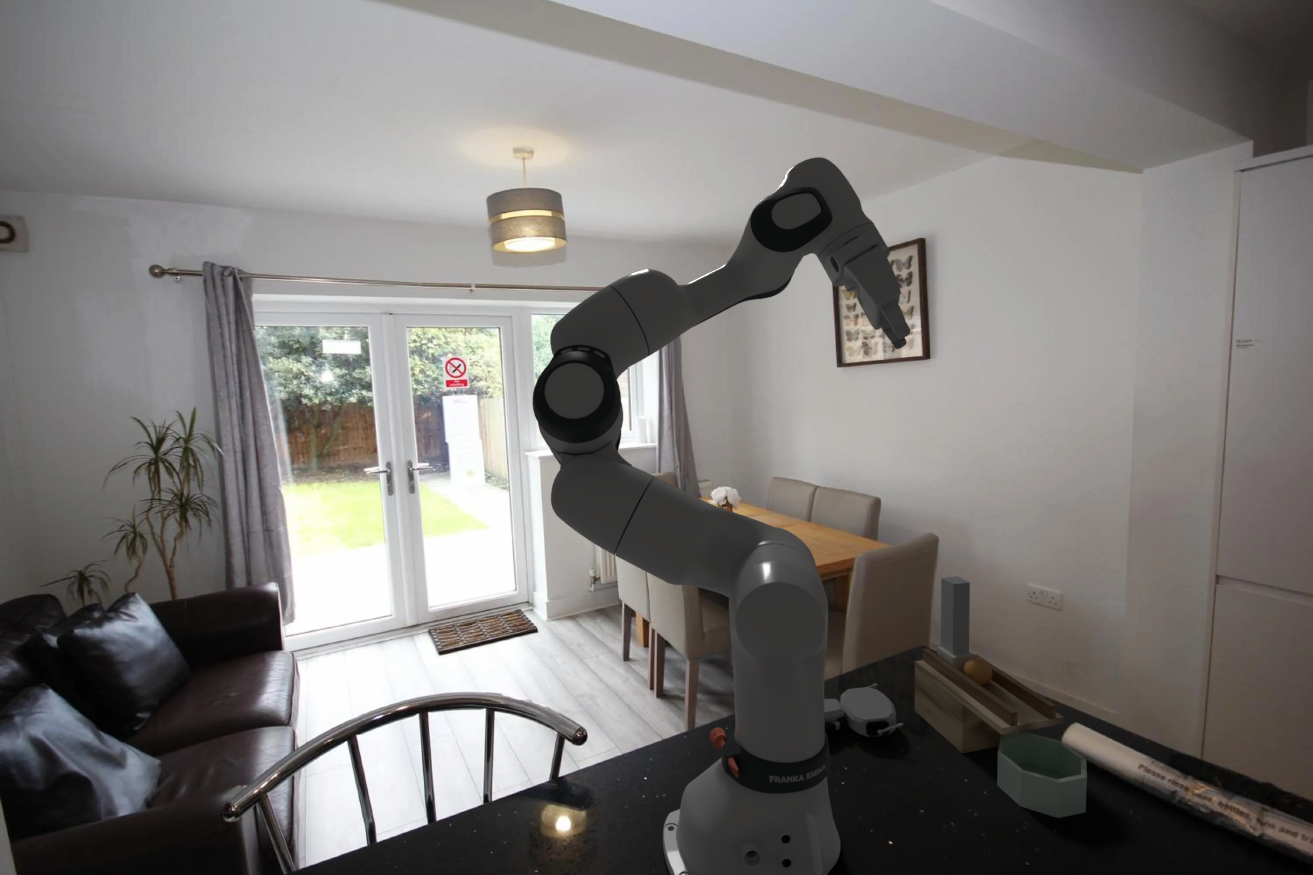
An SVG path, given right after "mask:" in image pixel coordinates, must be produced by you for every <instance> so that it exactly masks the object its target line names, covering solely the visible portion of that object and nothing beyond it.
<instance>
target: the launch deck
mask: <svg viewBox="0 0 1313 875" xmlns="http://www.w3.org/2000/svg"><path fill="white" fill-rule="evenodd" d="M921 650H922V654H921V657H922V658H921V660H915V661H914V712H915V713H917V714H918V716H920V717H921V718H922V719H924V720H925V722H927V723H928V724H929V725H930V726H931V727H933V728H934V729H935V731H937V732H938V733H939V734H940V735H942V736H943V738H944V739H945V740H947V741H948V742H949V743H950V744H951V745H953V747H954V748H956V749H957V750H958V751H959V752H960V753H961V754H966V753H971V752H977V751H982V750H988V749H993V748H999V743H1000V738H1001V737H1002V736H1007V735H1013V734H1018V733H1022V732H1026V731H1027V732H1028V731H1030V730H1037V729H1043V728H1048V727H1054V726H1059V725H1064V723H1065V717H1064V716H1063V715H1061V714H1060V713H1058V712H1057V711H1056V710H1057V709H1056V708H1057V705H1056V704H1054V703H1053V702H1051V701H1050V700H1048V699H1047V698H1045V697H1044V696H1042V695H1041V694H1039V693H1038V692H1036V691H1034V690H1033V689H1032V688H1029V687H1028V686H1026V685H1025V684H1024V683H1022V682H1020V680H1017V679H1015V678H1014V677H1012V676H1011V675H1010V674H1008V673H1006V672H1005V671H1003V670H1002V669H1000V668H998V667H997V666H995V665H994V664H992V663H991V662H989V661H987V660H986V659H984V657H982V656H980V655H978V654H977V658H980V659H983V660H985V661H986V662H987V663H988V664H989V665H990V667H991V668H992V672H993V675H992V679H991V680H990V682H989V683H987V684H985V685H979V684H977V683H976V682H974V681H973V680H972V679H970V678H969V677H967V676H966V675H965V673H962V672H960V671H959V670H958V669H956V668H955V667H953V666H952V665H950V664H949V663H948V662H946V661H945V660H943V659H942V658H941V657H939V656H938V655H937V653H935V652H933V651H932V650H931V649H929V648H922V649H921Z"/></svg>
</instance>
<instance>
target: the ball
mask: <svg viewBox="0 0 1313 875" xmlns="http://www.w3.org/2000/svg"><path fill="white" fill-rule="evenodd" d="M983 659H984V658H983ZM983 659H980V658H972V659H970V660H968V661H967V662H966V663H965V666H964V673H965V675H966V676H967V677H969V678H970V679H972V680H973V681H974V682H976V683H977V684H979V685H985V684H987V683H989V682H990V680H991V679H992V675H993V672H992V668H991V667H990V665H989V664H988V663H987V662H986V661H987V660H986V659H985V660H986V661H985V660H983Z"/></svg>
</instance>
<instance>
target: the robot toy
mask: <svg viewBox="0 0 1313 875" xmlns="http://www.w3.org/2000/svg"><path fill="white" fill-rule="evenodd" d="M876 687H878V683H873V684H872V685H867V686H866V687H865V686H864V687H855V688H848V689H847V690H845V691H843V693H842V694H841V695H840V700H838V699H837V698H824V711H825V733H826V734H827V737H828V738H829V737H830V736H833V735H834V733H835V732H836V731H838V730H843V729H845V728H847V727H849V728H850V729H851V730H853V731H854V732H855V733H857V734H859V735H861V736H864V737H874V738H875V737H877V738H878V737H881V736H887V735H889V736H890V734H891V733H893V732H895V730H896V729H897V728H901V727H903V726H904V723H902V722H900V723H897V712H896V708H895V706H894V705H895V704H894V703H893V702H892V701H891V700H890V698H889V697H888V696H886V694H884V693H883V692H881V691H880V690H878V688H877V689H876Z"/></svg>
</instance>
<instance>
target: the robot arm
mask: <svg viewBox="0 0 1313 875" xmlns="http://www.w3.org/2000/svg"><path fill="white" fill-rule="evenodd" d="M810 254H812V255H813V254H814V255H815V256H816V257H817V259H818V260H819V263H820V264H821V266H822V268H823V270H824V271H825V273H826V275H827V276H828V279H829V280H830V282H831V284H832V286H834V287H835V288H837V287H838V288H840V287H844V288H845V290H846V292H854V293H853V294H854V295H855V297H856V300H857V303H858V304H859V305H860V308H861V310H862V311H863V313H864V315H865V316H866V318H867V320H868V322H869V324H870V325H871V326H872V328H873V329H874V330H875V331H879V330H880V329H881V330H882V332H883V333H884V335H885V336H886V337H887V338H888V340H889V341H890V343H891V344H892V346H893V348H894V349H895V350H900V349H901V348H903V347H905V346H906V345H907V339H906V338H907V337H908V336H909V335H910V334H911V332H912V331H911V328H910V326H909V324H908V323H907V321H906V318H905V316H904V314H903V311H902V308H901V306H900V305H899V304H900V298H901V292H902V291H901V287H900V284H899V281H898V278H897V276H896V274H895V270H894V269H893V267H892V264H891V263H890V260H889V259H888V258H889V256H890V255H891V251H890V248H889V247H888V245H887V243H886V242H885V240H884V239H883V237H882V235H881V233H880V232H879V229H878V228H877V227H876V225H875V223H874V222H873V220H872V219H870V218H869V217H868V216H867V215H866V214H865V212H864V211H863V206H862V202H861V200H860V198H859V197H858V194H857V193H856V190H854V187H852V185H851V183H850V181H849V179H848V178H846V175H844V173H843V172H842V171H841V170H840V168H839V167H838V166H837V165H835V163H834V162H832V161H831V160H829V159H827V158H825V157H821V156H819V157H812V158H811V157H810V158H808V159H805V160H802V161H800V162H798V163H797V164H795V165H794V166H792V167H791V168H790V169H789V170H788V171H787V172H786V173H785V174H784V176H783V178H782V182H781V183H780V185H779V186H778V187H777V188H776V189H775V191H773V192H772V193H771V194H770V195H769V194H768V195H767V196H765V197H764V198H762V199H761V200H759V201H758V203H757V204H756V205H755V206H754V208H753V210H752V211H751V213H750V215H749V217H748V220H747V223H746V225H745V227H744V230H743V233H742V235H741V238H740V241H739V243H738V245H737V247H736V249H735V250H734V252H733V253H732V254H731V255H732V256H730V258H729V259H728V260H727V262H726V263H725V264H723V265H722V266H721V267H718V268H717V269H714V270H713V271H710V272H708V273H707V274H704V275H702V276H701V277H698V278H696V279H694V280H692V281H690V282H688V283H685V284H678V283H677V282H676V280H674V279H673V278H672V277H671V276H670V275H668V274H667V273H664V272H662V271H660V270H657V269H652V268H645V269H641V270H638V271H635V272H633V273H629V274H627V275H624V276H622V277H621V278H619V279H617V280H615V281H613V282H611V283H610V284H608V285H606V286H605V287H603V288H602V289H599V290H598V291H596V292H594V293H593V294H591V295H590V296H588V297H587V298H585V299H584V300H583V301H581V302H580V303H578V304H577V305H576V306H575V307H574V308H572V309H570V310H569V312H567V313H566V314H565V315H564V316H562V317H561V318H560V319H559V320H558V321H557V322H556V323H555V324H554V325H553V327H552V330H551V332H550V337H549V341H550V342H549V343H550V344H549V345H550V349H551V350H550V351H551V354H552V357H551V360H550V361H549V363H548V364H547V365H546V366H545V368H544V369H543V370H542V372H541V373H540V375H539V376H538V378H537V380H536V382H535V385H534V387H533V388H534V389H533V391H532V411H533V415H534V417H535V419H536V421H537V427H538V430H539V433H540V435H541V437H542V439H543V440H544V442H545V444H546V445H547V447H548V448H549V450H550V451H551V454H552V455H553V457H554V458H555V459H556V461H557V462H558V464H559V466H560V467H559V470H558V471H557V474H556V476H555V478H554V479H553V483H552V486H551V490H550V491H551V492H550V505H551V507H552V511H553V512H554V513H555V515H556V517H557V518H559V519H560V520H561V521H562V522H564V524H566V525H567V526H568V527H570V528H571V529H572V530H573V531H575V532H576V533H577V534H579V535H581V536H582V537H583V538H585V539H586V540H588V541H589V542H591V543H592V544H594V545H596V546H597V547H600V548H601V549H602V550H604V551H606V552H608V553H610V554H611V555H613V556H615V557H617V558H619V559H621V560H622V561H625V562H626V563H629V564H631V565H633V566H634V567H635V568H639V569H640V570H642V571H644V572H646V573H649V574H650V575H652V576H653V577H656V578H658V579H660V580H662V581H664V582H665V583H667V584H670V585H674V586H683V585H684V586H691V587H696V588H700V589H704V590H708V591H711V592H714V593H718V594H720V595H723V596H725V597H727V598H728V599H729V600H728V612H729V614H728V616H729V629H730V630H729V631H730V647H731V660H732V661H731V662H732V670H733V692H734V716H735V721H734V722H735V726H734V728H733V730H732V733H731V735H729V737H728V736H727V735H726V732H725V730H724V729H723V728H722V727H715V728H713V729H712V730H711V731H710V733H709V734H710V735H709V738H710V740H711V741H712V744H713V746H714V747H715V749H717V750H720V751H721V756H720V758H719V759H718V760H716V762H714V763H713V764H711V766H709V767H708V768H706V770H704V771H703V772H702V773H700V774H699V775H698V776H696V778H694V779H693V780H691V781H690V782H689V783H688V784H687V785H686V786H685V788H684V791H683V793H682V795H681V796H682V797H681V802H680V806H679V809H676V810H674V811H671V812H669V813H668V815H667V816H666V819H665V821H664V824H663V831H662V848H663V855H664V859H665V863H666V865H667V869H668V872H669V874H670V875H828V874H829V872H830V871H831V870H832V869H833V868H834V866H835V865H836V864H837V862H838V859H839V857H840V855H841V854H840V853H841V839H840V835H839V833H838V830H837V827H836V823H835V819H834V816H833V810H832V807H831V800H830V799H831V798H830V795H829V794H830V793H829V786H828V785H829V784H828V778H829V775H830V761H831V759H830V747H829V746H830V745H829V737H827V734H826V733H825V711H824V699H825V672H826V664H827V663H826V662H827V650H828V633H829V632H828V631H829V630H828V628H829V602H828V597H827V593H826V591H825V587H824V584H823V581H822V578H821V575H820V573H819V569H818V567H817V563H816V560H815V558H814V555H813V553H812V550H811V549H810V548H809V546H808V545H807V544H806V543H805V542H804V541H803V540H802V539H800V538H799V537H798V536H797V535H795V534H794V533H793V532H790V531H789V530H787V529H784V528H781V527H778V526H776V527H775V526H773V525H770V524H768V523H766V522H763V521H760V520H758V519H755V518H752V517H750V516H746V515H744V514H740V513H738V512H734V511H730V510H728V509H725V508H722V507H719V506H717V505H714V504H711V503H710V502H707V501H705V500H703V499H701V498H699V497H697V496H695V495H693V494H691V493H689V492H687V491H685V490H683V489H681V488H679V487H677V486H675V485H673V484H671V483H670V482H669V483H668V482H667V481H665V480H663V479H661V478H659V477H657V476H655V475H653V474H650V473H649V472H646V471H645V470H642V469H640V468H639V467H635V466H633V464H631V463H630V462H628V461H627V459H625V458H623V456H622V455H621V454H620V453H619V448H620V444H621V439H622V429H623V423H624V409H623V408H624V407H623V403H622V394H621V388H620V384H619V381H618V379H619V378H620V376H621V375H622V374H624V372H625V371H627V370H628V369H629V368H630V367H632V366H634V365H636V364H637V363H640V362H641V361H643V360H644V359H647V358H648V357H650V356H652V355H653V354H655V353H657V352H659V351H660V350H661V349H663V348H665V347H666V346H667V345H669V344H670V343H671V342H673V341H674V340H676V339H677V338H679V337H680V336H682V335H683V334H684V333H686V332H687V331H689V330H690V329H693V328H694V327H697V326H698V325H700V324H703V323H705V322H706V321H707V320H710V319H712V318H714V317H715V316H717V315H720V314H721V313H723V312H725V311H727V310H729V309H731V308H733V307H734V306H735V307H736V306H737V305H739V304H741V303H744V302H749V301H755V300H763V299H764V300H765V299H768V298H773V297H775V296H777V295H779V294H781V293H782V292H783V291H785V290H786V288H787V287H788V285H789V284H790V282H791V281H792V278H793V276H794V274H795V271H796V270H797V268H798V266H799V264H800V263H801V261H802V260H803V258H804V257H805V256H808V255H810Z"/></svg>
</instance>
